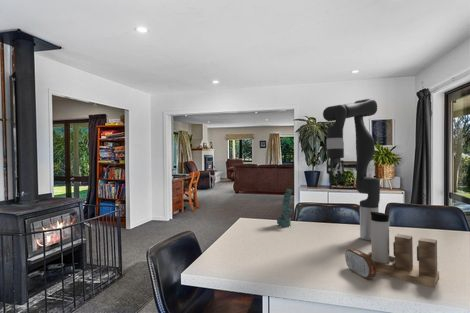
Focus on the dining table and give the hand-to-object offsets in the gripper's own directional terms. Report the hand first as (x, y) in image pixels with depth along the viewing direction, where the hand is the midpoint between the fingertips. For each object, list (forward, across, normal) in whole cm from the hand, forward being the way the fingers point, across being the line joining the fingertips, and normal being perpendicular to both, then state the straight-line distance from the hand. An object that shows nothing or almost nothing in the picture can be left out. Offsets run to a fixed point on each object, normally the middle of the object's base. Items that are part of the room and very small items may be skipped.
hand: (335, 182), depth 131 cm
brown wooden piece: (+32, -9, -28) cm, 43 cm away
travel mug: (+30, -9, -21) cm, 38 cm away
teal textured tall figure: (+32, +26, +45) cm, 61 cm away
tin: (+32, -20, -17) cm, 42 cm away
